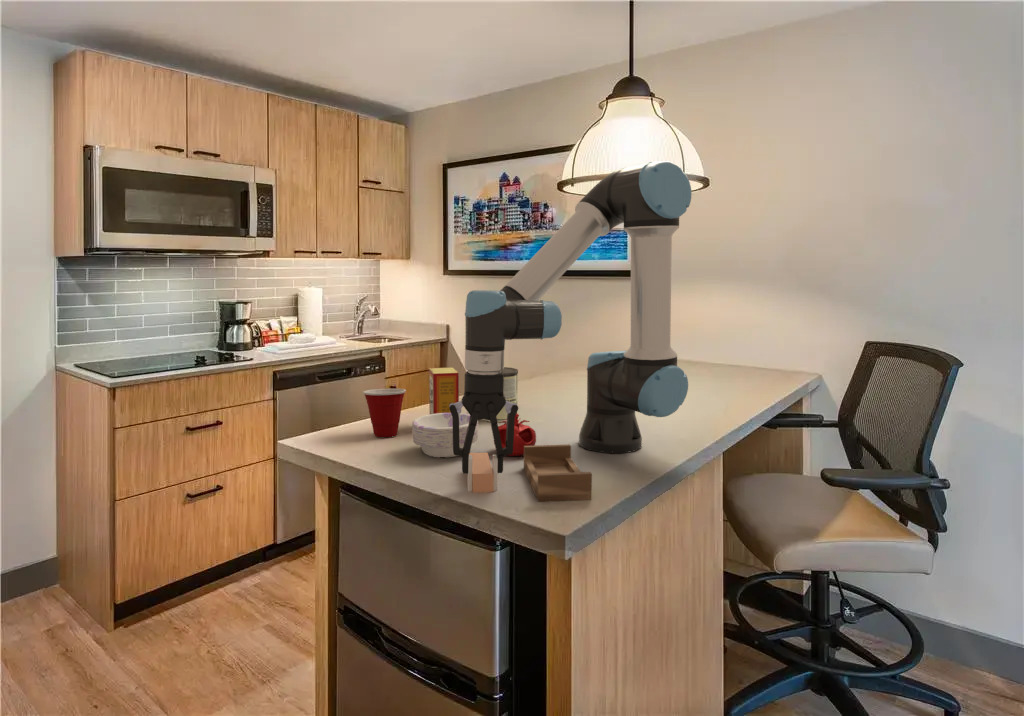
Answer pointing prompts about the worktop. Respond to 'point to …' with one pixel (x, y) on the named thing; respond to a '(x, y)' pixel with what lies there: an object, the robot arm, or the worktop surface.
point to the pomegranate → (518, 436)
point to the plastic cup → (385, 410)
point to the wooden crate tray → (555, 474)
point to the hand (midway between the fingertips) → (482, 488)
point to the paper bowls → (440, 433)
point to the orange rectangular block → (481, 473)
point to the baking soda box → (443, 389)
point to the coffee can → (508, 391)
